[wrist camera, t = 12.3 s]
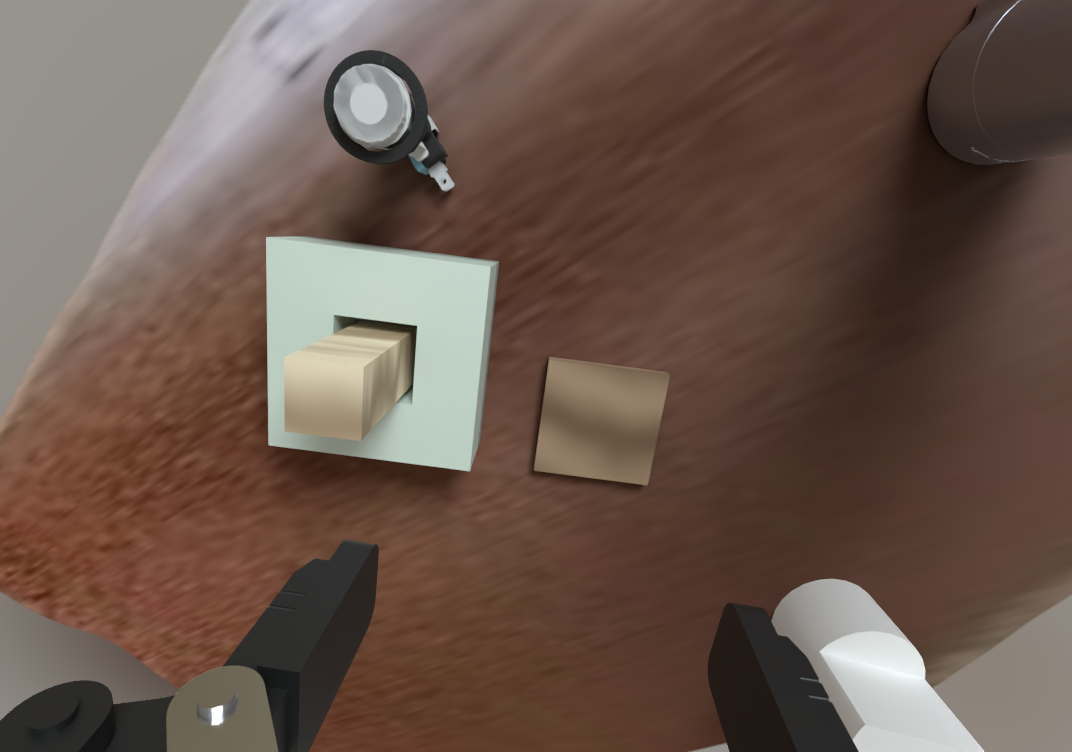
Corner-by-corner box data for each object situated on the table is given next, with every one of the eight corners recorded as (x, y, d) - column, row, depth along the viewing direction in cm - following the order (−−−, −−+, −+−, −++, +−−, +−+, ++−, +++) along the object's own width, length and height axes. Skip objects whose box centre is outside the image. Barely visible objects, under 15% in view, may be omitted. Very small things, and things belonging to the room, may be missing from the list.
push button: (482, 168, 36) (457, 146, 27) (419, 211, 37) (373, 205, 28) (426, 77, 35) (379, 19, 25) (363, 124, 36) (294, 85, 26)
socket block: (306, 236, 38) (266, 237, 33) (499, 261, 38) (490, 266, 33) (304, 417, 42) (268, 445, 36) (480, 440, 42) (469, 471, 36)
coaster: (549, 356, 40) (549, 359, 39) (667, 372, 40) (670, 375, 39) (534, 465, 42) (533, 470, 41) (645, 479, 42) (647, 485, 41)
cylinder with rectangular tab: (754, 651, 46) (821, 791, 35) (795, 567, 44) (882, 687, 32) (850, 676, 47) (947, 823, 35) (895, 594, 44) (1016, 722, 33)
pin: (365, 318, 38) (283, 357, 26) (421, 325, 38) (363, 367, 26) (363, 371, 39) (284, 431, 27) (417, 378, 39) (361, 440, 27)
